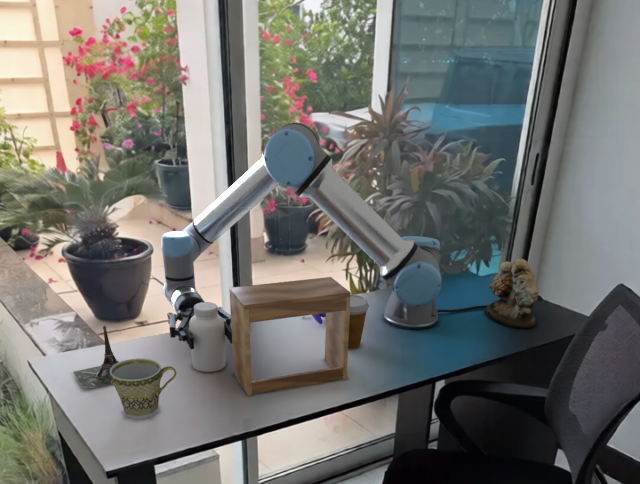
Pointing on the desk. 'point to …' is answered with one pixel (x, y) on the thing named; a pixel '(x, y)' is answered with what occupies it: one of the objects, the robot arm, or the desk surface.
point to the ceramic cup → (139, 386)
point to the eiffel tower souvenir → (98, 369)
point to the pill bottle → (207, 338)
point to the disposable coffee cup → (356, 320)
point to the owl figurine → (513, 295)
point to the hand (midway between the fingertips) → (212, 340)
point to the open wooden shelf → (285, 304)
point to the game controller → (318, 317)
